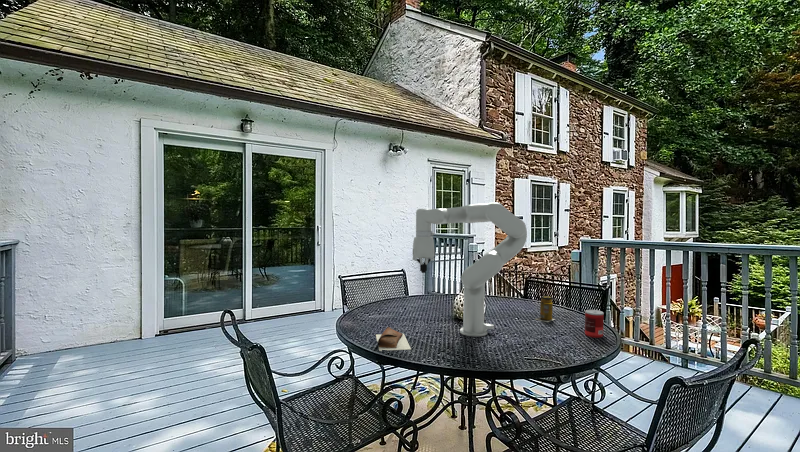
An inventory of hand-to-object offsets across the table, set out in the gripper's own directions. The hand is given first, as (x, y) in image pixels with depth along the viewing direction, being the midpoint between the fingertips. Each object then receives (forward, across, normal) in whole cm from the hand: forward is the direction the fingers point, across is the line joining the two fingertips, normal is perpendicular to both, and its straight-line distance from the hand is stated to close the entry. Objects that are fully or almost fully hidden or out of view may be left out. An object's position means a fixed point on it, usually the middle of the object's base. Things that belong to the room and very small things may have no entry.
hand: (423, 272), depth 190 cm
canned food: (+27, -76, +20) cm, 83 cm away
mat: (+27, +17, +18) cm, 37 cm away
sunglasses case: (+27, +18, +17) cm, 37 cm away
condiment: (+27, -67, -8) cm, 73 cm away
